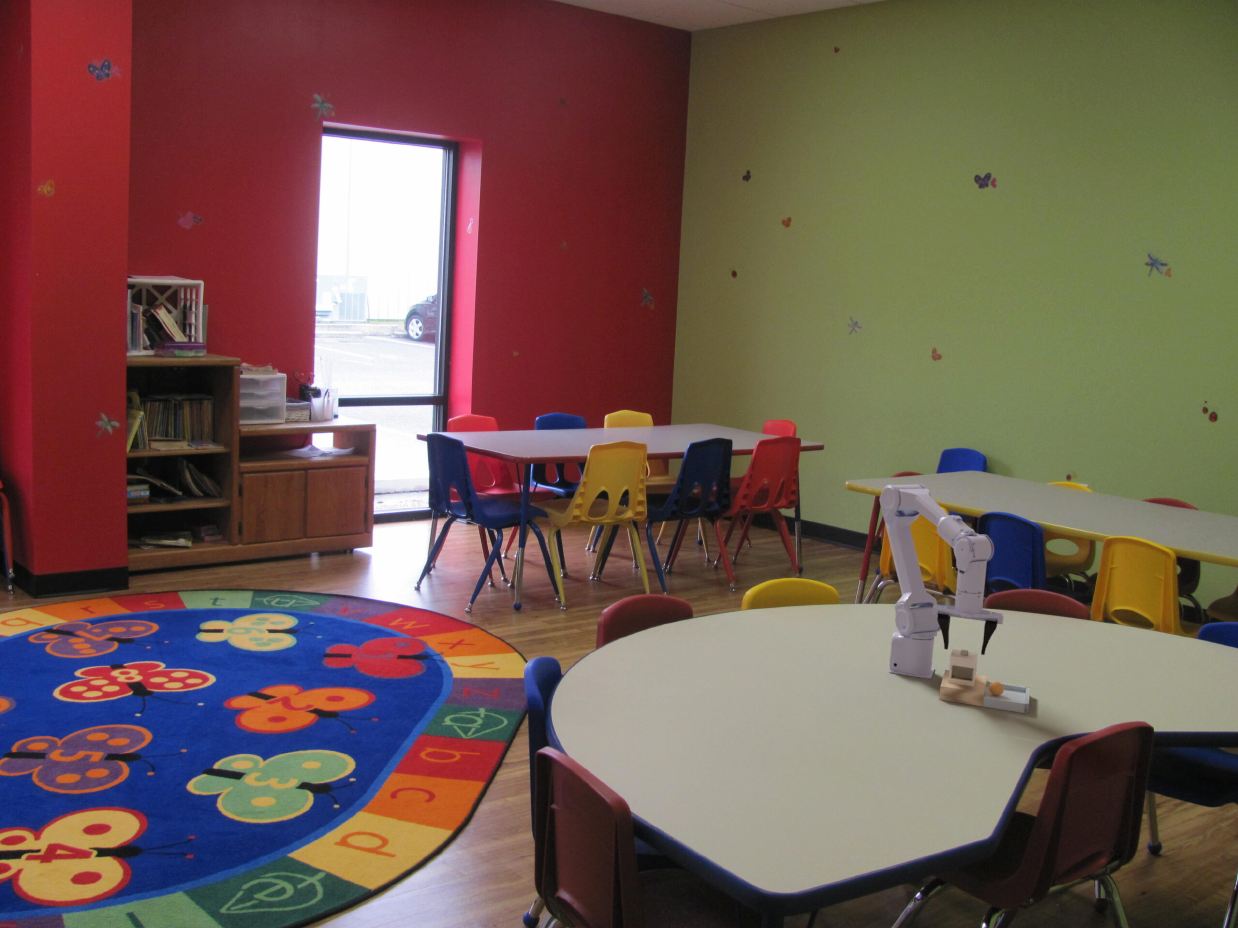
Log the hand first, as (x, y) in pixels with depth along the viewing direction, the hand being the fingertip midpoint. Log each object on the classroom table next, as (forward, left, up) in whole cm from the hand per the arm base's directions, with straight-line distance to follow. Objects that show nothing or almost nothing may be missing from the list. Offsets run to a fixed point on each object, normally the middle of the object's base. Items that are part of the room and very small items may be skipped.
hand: (964, 650), depth 237 cm
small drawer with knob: (0, 0, -7) cm, 7 cm away
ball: (+7, 0, -7) cm, 10 cm away
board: (+1, 0, -10) cm, 10 cm away
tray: (+10, 0, -10) cm, 14 cm away
